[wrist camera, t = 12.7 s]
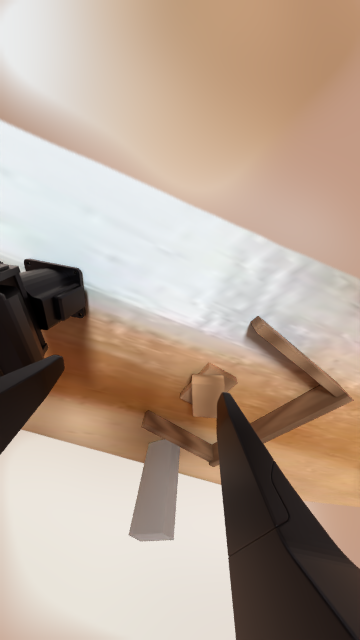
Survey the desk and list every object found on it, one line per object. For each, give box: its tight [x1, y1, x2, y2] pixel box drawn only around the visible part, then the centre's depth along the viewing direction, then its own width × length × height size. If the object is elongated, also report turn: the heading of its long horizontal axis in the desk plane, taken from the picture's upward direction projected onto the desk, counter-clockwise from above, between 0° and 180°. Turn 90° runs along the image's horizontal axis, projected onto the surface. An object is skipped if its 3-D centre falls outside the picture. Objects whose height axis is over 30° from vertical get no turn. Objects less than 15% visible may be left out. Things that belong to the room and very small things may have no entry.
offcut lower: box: [180, 363, 237, 405], centre depth 27 cm, size 5×8×2 cm, turn 148°
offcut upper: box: [192, 374, 225, 418], centre depth 26 cm, size 4×7×2 cm, turn 3°
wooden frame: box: [141, 316, 354, 467], centre depth 27 cm, size 17×26×3 cm, turn 142°
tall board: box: [129, 439, 180, 541], centre depth 31 cm, size 3×6×12 cm, turn 120°
